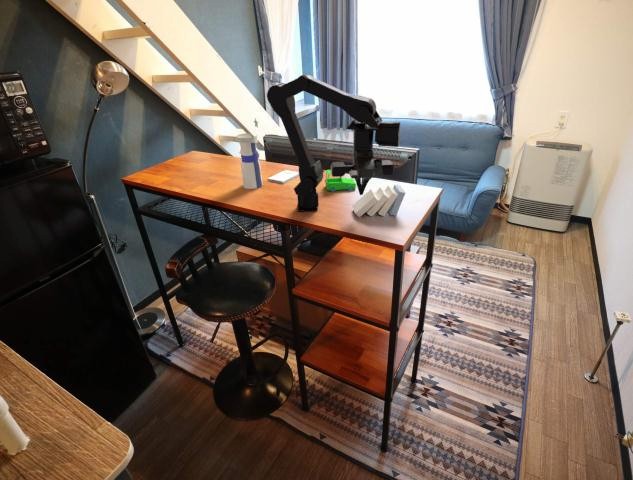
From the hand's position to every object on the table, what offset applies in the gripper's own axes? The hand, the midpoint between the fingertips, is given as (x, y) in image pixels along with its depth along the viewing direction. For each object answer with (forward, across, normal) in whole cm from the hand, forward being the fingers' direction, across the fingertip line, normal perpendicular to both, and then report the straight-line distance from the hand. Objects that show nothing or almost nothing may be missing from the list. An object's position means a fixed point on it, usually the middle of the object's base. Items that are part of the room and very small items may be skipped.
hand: (360, 194), depth 108 cm
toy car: (+7, -4, +23) cm, 24 cm away
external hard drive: (+7, -26, +36) cm, 45 cm away
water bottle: (+7, -38, +29) cm, 48 cm away
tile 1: (+6, -1, 0) cm, 6 cm away
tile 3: (+6, +6, 0) cm, 9 cm away
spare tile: (+6, +10, 0) cm, 12 cm away
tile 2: (+6, +2, 0) cm, 6 cm away
